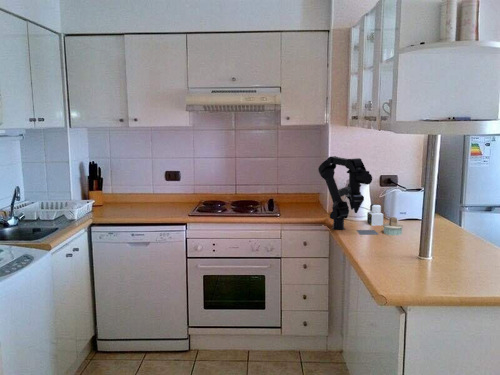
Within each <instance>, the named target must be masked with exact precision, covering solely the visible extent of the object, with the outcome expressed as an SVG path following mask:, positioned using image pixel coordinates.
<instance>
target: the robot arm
mask: <svg viewBox="0 0 500 375" xmlns="http://www.w3.org/2000/svg"><path fill="white" fill-rule="evenodd" d="M364 164H365V163H363V161H362V159H361V158H360V157H359V158H358V157H356V158H346V157H338V156H336V155H334V156H329V157H327V159H326V160H325V161H323V162H322V163H321V164H320V165H319V166H318V168H317V170H318V173H319V175H320V177H321V179H323V180H324V181H325V183H326V187H327V189H328V192H329V194H330V198H331V201H332V203H333V204H332V207H331V208H332V211H331V212H330V214H329V219H332V220H333V222H332V223H333V224H332V227H331V229H333V231H346V228H345V219H348V216H349V214H350V213H349V212H350V209H351V210H353V211H354V214H357V213H358V212H359V210H360V207H361V206H362V204H363V203H364V201H365V196H363V195H362V193H361V186H362V184H363V185H370V184H371V183H372V181H373V175H372V174H371V173H370V170H367V169H366V167H365V165H364ZM337 166H342V167H345V168H346V169H347V171H346V174H349V175H348V184H347V186H345V187H342V188H339V189H338V186H337V183H336V180H335V178H334V177H335V170H336V167H337ZM344 196H345V197H346V198H347V199H348V202H349V205H350V206H349V205H348V202H347V201H344V200H343V199H342V197H344Z"/></svg>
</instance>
